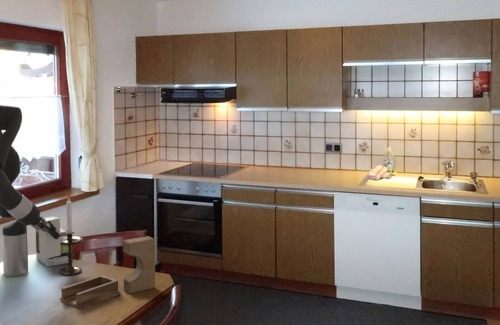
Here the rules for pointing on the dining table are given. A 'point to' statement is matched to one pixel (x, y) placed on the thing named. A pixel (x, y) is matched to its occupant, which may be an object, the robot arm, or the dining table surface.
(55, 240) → the white rectangular block
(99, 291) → the tray
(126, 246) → the decorative block
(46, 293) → the dining table surface
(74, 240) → the candlestick
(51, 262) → the tea box
